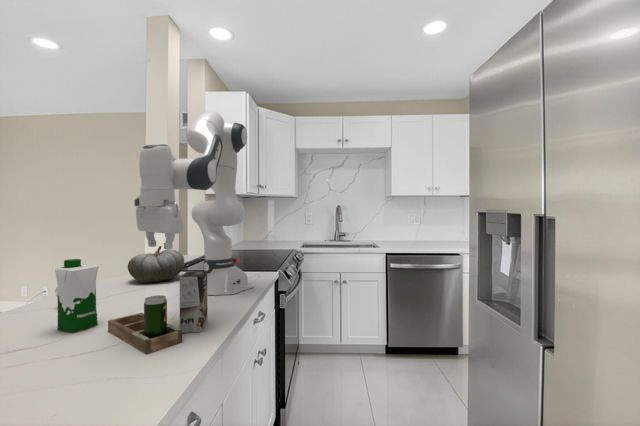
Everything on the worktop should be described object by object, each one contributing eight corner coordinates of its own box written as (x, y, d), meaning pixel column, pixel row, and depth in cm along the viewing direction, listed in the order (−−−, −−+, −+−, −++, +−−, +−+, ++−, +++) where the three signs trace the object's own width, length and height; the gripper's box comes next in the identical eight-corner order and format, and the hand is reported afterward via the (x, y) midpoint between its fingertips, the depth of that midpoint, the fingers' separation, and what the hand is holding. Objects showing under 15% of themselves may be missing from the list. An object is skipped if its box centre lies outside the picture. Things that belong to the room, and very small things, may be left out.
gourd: (195, 274, 162) (188, 240, 161) (142, 292, 144) (133, 254, 143) (175, 273, 179) (168, 242, 178) (125, 288, 162) (117, 254, 161)
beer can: (145, 349, 81) (144, 301, 81) (143, 342, 86) (142, 297, 86) (168, 344, 84) (168, 298, 84) (165, 337, 89) (165, 294, 89)
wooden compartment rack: (141, 322, 101) (141, 312, 101) (182, 341, 86) (182, 329, 86) (108, 330, 94) (107, 319, 94) (146, 354, 79) (146, 340, 79)
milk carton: (82, 320, 102) (82, 257, 102) (103, 324, 99) (102, 259, 99) (51, 330, 94) (50, 261, 94) (72, 334, 91) (72, 263, 91)
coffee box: (202, 332, 93) (202, 275, 93) (179, 333, 92) (178, 276, 92) (208, 321, 102) (208, 269, 102) (186, 322, 101) (186, 270, 101)
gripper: (187, 199, 90) (189, 249, 91) (152, 200, 102) (154, 244, 103) (165, 200, 85) (167, 252, 86) (131, 200, 98) (133, 246, 98)
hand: (160, 247), depth 95 cm, fingers open, 8 cm apart
